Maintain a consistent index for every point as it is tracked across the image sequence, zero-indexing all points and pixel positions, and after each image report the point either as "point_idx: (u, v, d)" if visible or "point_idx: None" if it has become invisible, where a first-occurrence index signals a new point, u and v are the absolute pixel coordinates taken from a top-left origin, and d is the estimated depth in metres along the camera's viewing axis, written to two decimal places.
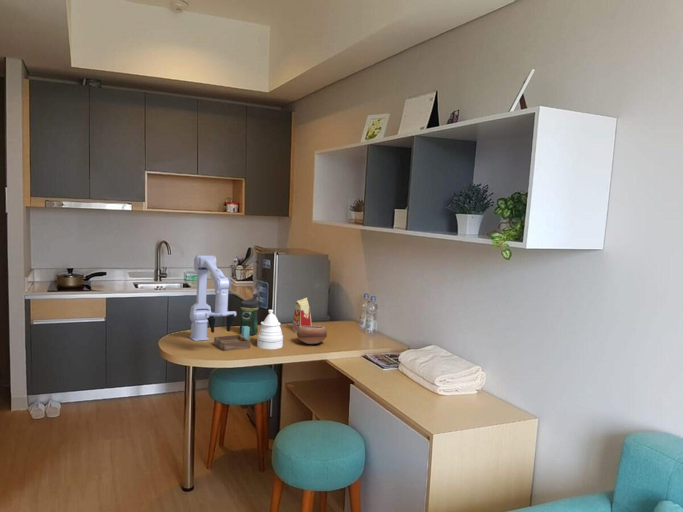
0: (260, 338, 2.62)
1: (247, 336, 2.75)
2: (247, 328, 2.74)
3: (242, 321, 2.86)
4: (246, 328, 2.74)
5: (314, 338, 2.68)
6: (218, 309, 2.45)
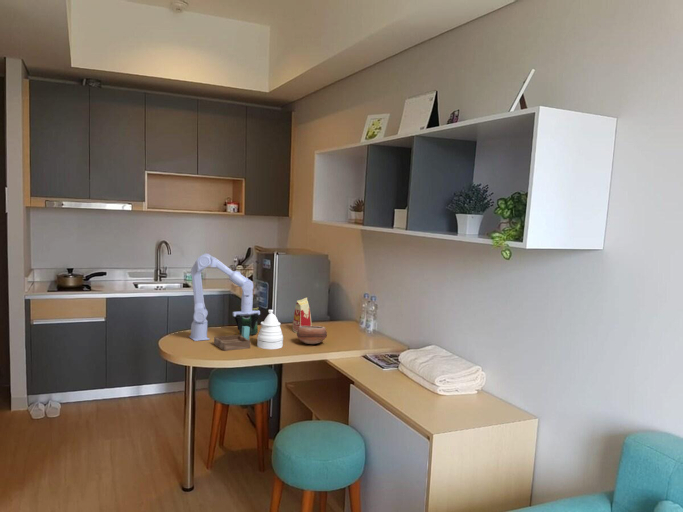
0: (260, 338, 2.62)
1: (247, 336, 2.75)
2: (247, 328, 2.74)
3: (242, 321, 2.86)
4: (246, 328, 2.74)
5: (314, 338, 2.68)
6: (244, 309, 2.72)
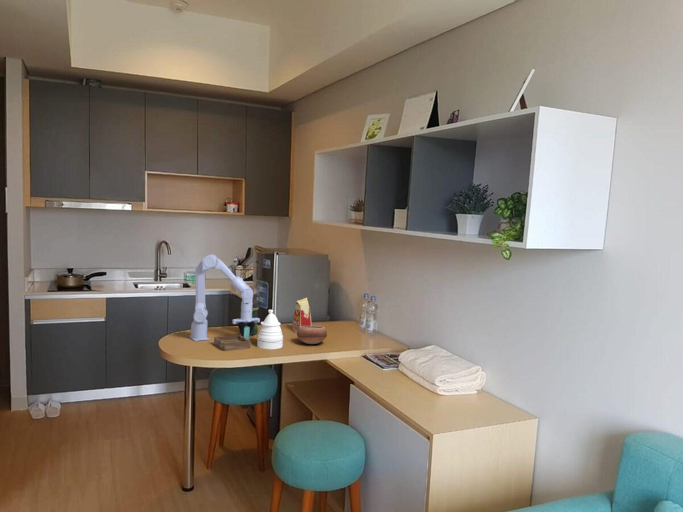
0: (260, 338, 2.62)
1: (247, 336, 2.75)
2: (247, 328, 2.74)
3: None
4: (246, 328, 2.74)
5: (314, 338, 2.68)
6: (244, 316, 2.72)
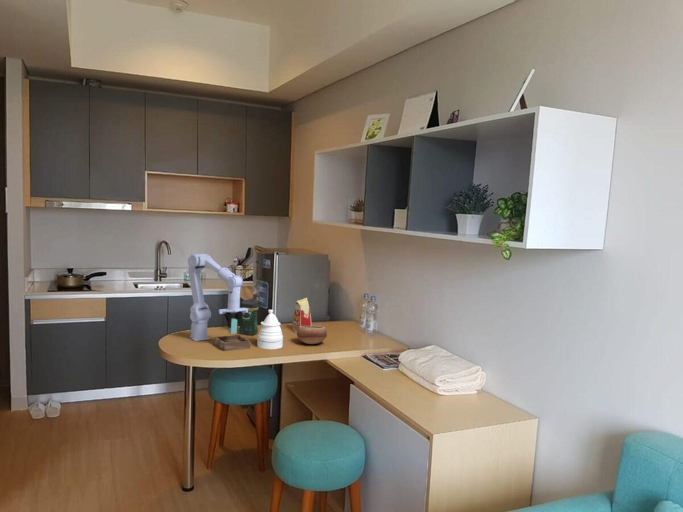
0: (260, 338, 2.62)
1: (234, 329, 2.60)
2: (235, 320, 2.60)
3: (242, 321, 2.86)
4: (233, 320, 2.60)
5: (314, 338, 2.68)
6: (231, 306, 2.58)
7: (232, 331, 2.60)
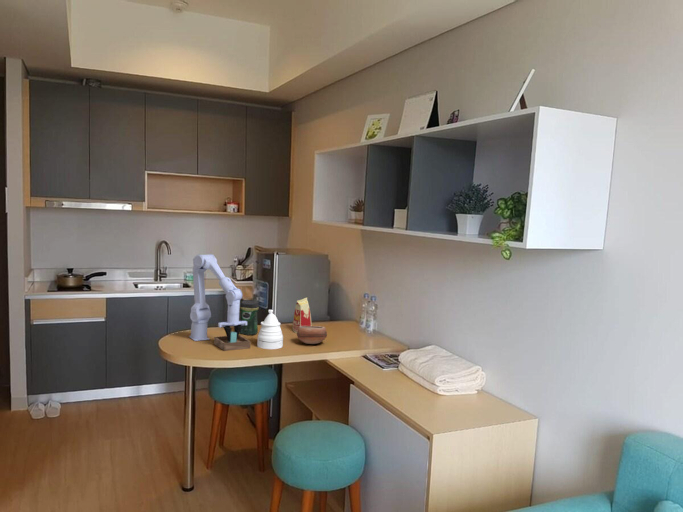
0: (260, 338, 2.62)
1: None
2: (234, 334, 2.60)
3: None
4: (233, 334, 2.60)
5: (314, 338, 2.68)
6: (230, 319, 2.58)
7: None
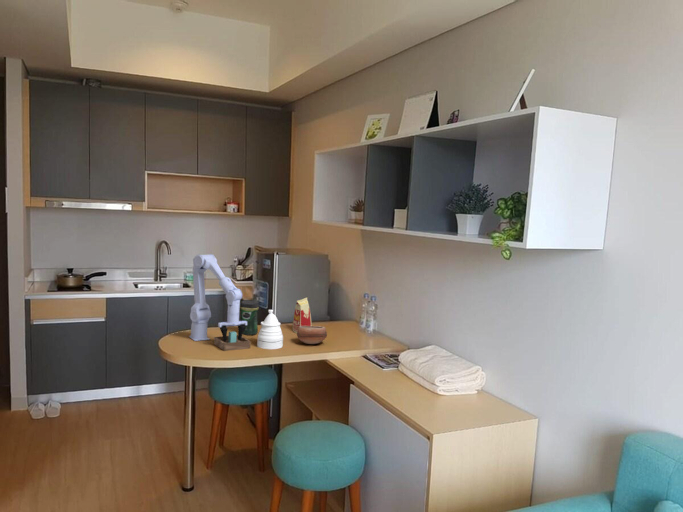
0: (260, 338, 2.62)
1: None
2: (234, 334, 2.61)
3: None
4: (233, 334, 2.60)
5: (314, 338, 2.68)
6: (230, 319, 2.58)
7: None
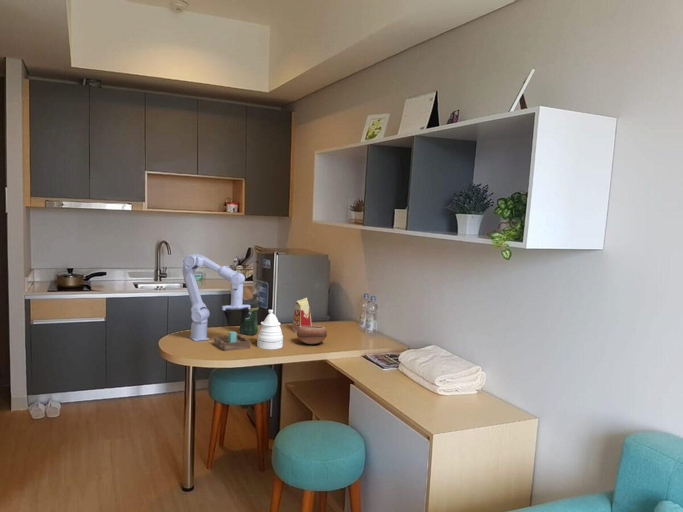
0: (260, 338, 2.62)
1: None
2: (234, 334, 2.61)
3: None
4: (233, 334, 2.60)
5: (314, 338, 2.68)
6: (234, 303, 2.65)
7: None
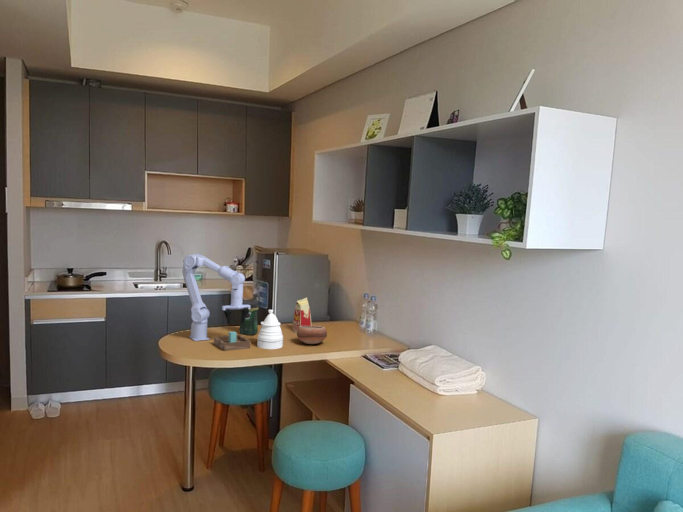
0: (260, 338, 2.62)
1: None
2: (234, 334, 2.61)
3: None
4: (233, 334, 2.60)
5: (314, 338, 2.68)
6: (234, 303, 2.65)
7: None
